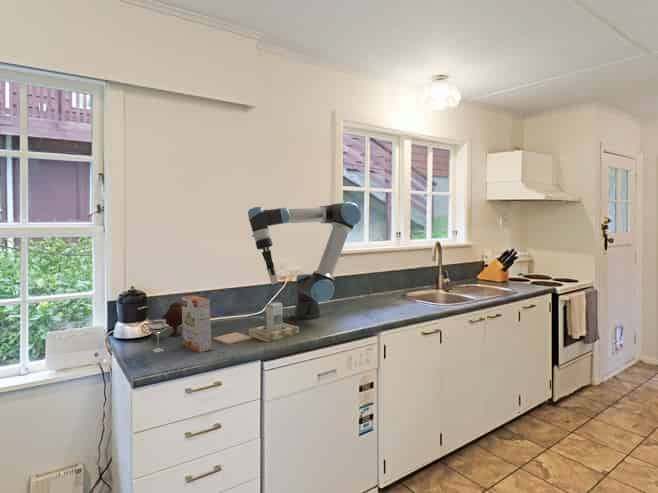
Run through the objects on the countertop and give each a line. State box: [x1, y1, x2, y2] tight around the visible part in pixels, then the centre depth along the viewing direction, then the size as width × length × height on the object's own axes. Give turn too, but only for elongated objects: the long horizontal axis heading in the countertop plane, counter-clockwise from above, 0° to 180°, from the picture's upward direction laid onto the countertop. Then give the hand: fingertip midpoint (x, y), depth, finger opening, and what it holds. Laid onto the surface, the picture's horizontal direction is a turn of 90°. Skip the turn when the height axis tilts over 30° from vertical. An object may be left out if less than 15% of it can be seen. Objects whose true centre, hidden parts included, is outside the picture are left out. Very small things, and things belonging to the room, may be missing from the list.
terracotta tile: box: [212, 331, 253, 346], centre depth 183 cm, size 12×12×1 cm
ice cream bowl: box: [161, 301, 183, 338], centre depth 189 cm, size 11×11×15 cm
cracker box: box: [181, 294, 212, 354], centre depth 170 cm, size 14×6×21 cm, turn 45°
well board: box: [248, 322, 300, 343], centre depth 189 cm, size 18×14×3 cm
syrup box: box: [264, 301, 284, 332], centre depth 189 cm, size 6×6×14 cm
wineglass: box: [148, 318, 168, 353], centre depth 168 cm, size 7×7×12 cm
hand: (274, 283), depth 193 cm, fingers open, 13 cm apart
